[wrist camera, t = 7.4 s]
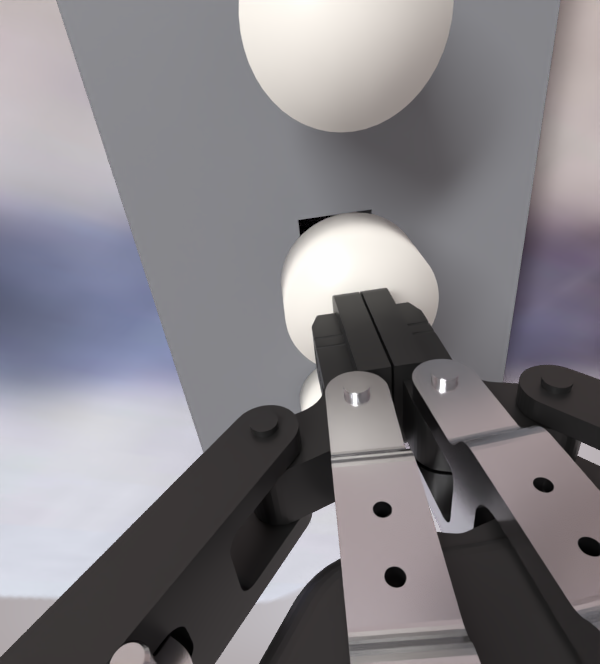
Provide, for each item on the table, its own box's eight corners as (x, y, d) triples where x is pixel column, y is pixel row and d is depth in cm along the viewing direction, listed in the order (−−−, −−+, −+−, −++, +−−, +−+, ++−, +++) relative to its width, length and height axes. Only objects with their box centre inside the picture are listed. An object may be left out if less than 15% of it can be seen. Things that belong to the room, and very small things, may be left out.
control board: (60, -87, 14) (19, -112, 11) (528, -151, 14) (588, -188, 12) (213, 427, 25) (209, 471, 23) (471, 389, 26) (495, 428, 23)
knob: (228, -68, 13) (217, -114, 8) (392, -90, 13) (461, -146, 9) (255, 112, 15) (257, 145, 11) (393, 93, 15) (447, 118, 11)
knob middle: (268, 194, 16) (274, 250, 12) (394, 176, 16) (442, 225, 12) (285, 304, 19) (295, 382, 15) (395, 288, 19) (435, 361, 15)
